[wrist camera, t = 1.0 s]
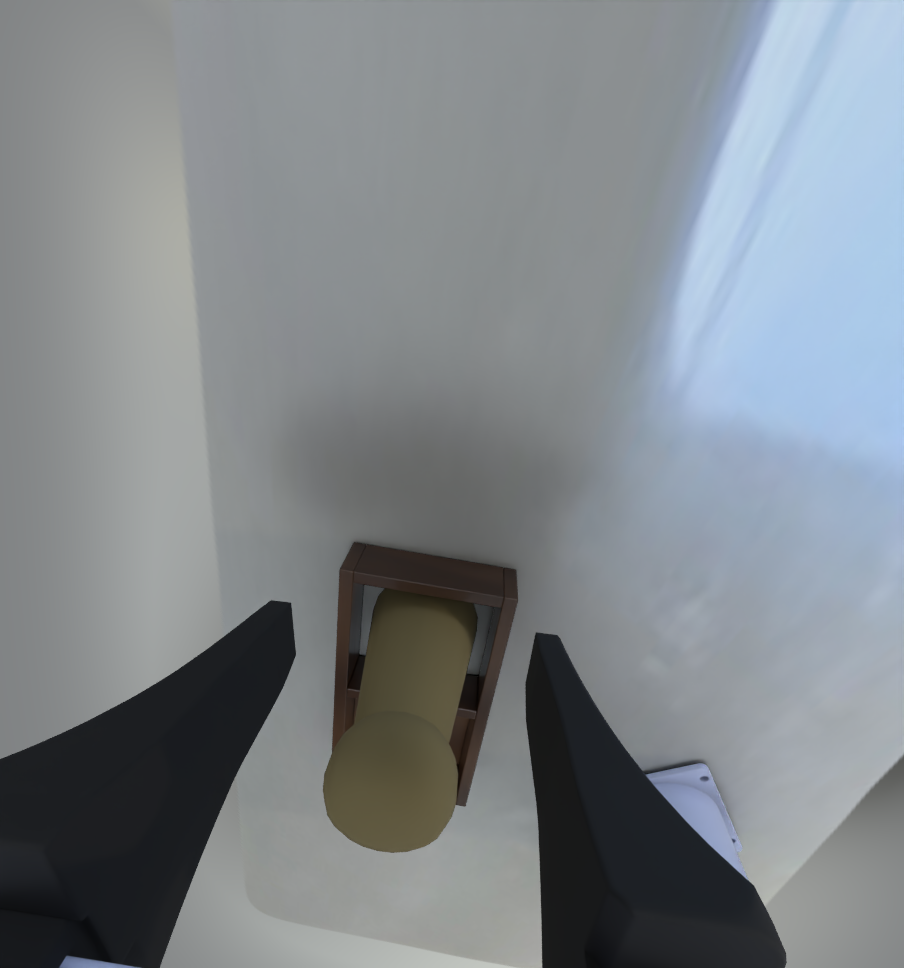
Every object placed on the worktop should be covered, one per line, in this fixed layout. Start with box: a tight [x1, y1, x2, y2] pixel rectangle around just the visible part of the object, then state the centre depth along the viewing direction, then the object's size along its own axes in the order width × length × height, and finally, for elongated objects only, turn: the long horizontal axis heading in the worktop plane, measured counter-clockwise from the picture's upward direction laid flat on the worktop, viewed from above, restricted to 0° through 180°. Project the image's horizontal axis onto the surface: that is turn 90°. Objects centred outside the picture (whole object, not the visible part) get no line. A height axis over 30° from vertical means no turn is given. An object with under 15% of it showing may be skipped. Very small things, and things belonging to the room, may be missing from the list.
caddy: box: [332, 542, 518, 806], centre depth 27 cm, size 17×9×2 cm, turn 172°
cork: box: [323, 588, 478, 853], centre depth 21 cm, size 6×6×11 cm
